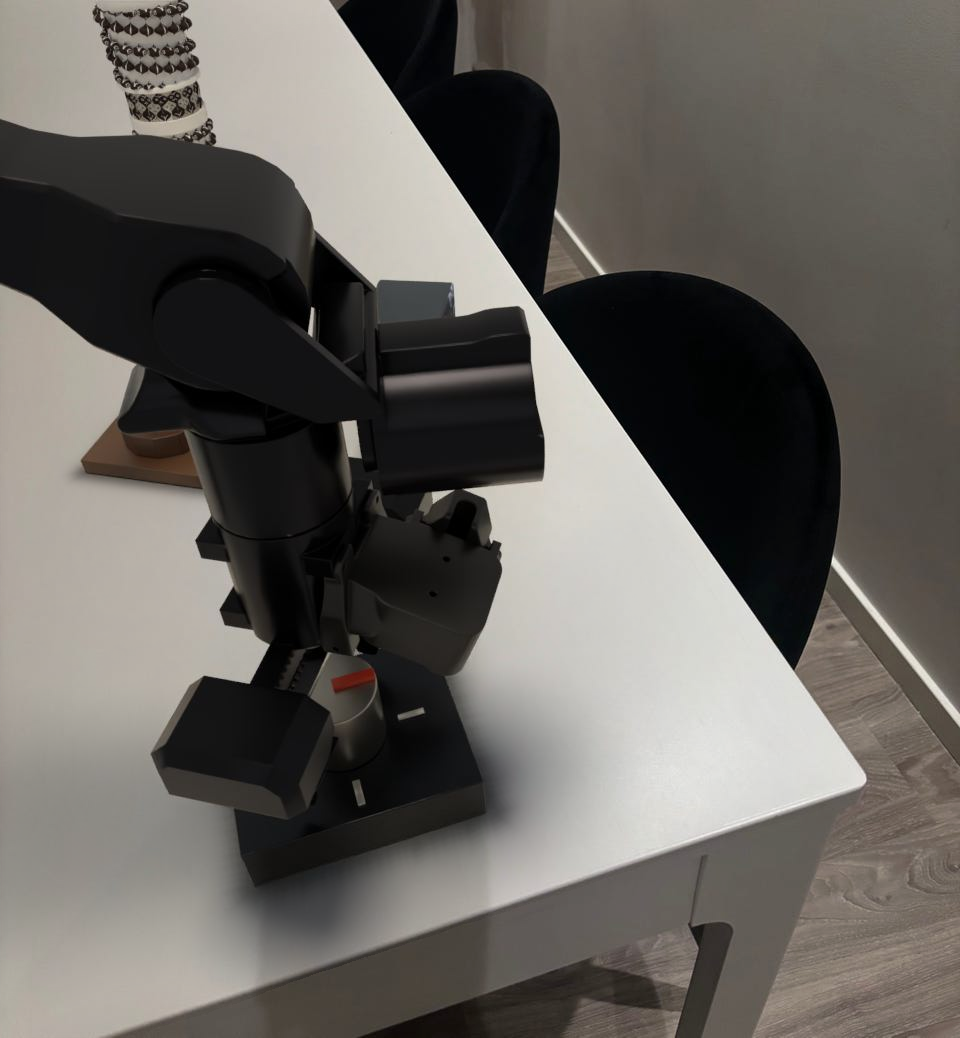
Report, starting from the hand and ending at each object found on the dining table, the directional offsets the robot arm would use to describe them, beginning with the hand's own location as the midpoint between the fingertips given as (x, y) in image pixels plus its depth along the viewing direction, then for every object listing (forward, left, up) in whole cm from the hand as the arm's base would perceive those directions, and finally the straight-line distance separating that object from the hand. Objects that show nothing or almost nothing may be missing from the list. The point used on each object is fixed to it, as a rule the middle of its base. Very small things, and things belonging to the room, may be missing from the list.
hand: (339, 721), depth 49 cm
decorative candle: (-43, +66, -4) cm, 79 cm away
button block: (-23, +24, -4) cm, 33 cm away
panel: (0, 0, -4) cm, 4 cm away
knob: (0, 0, -1) cm, 1 cm away
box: (-5, +29, -4) cm, 30 cm away
